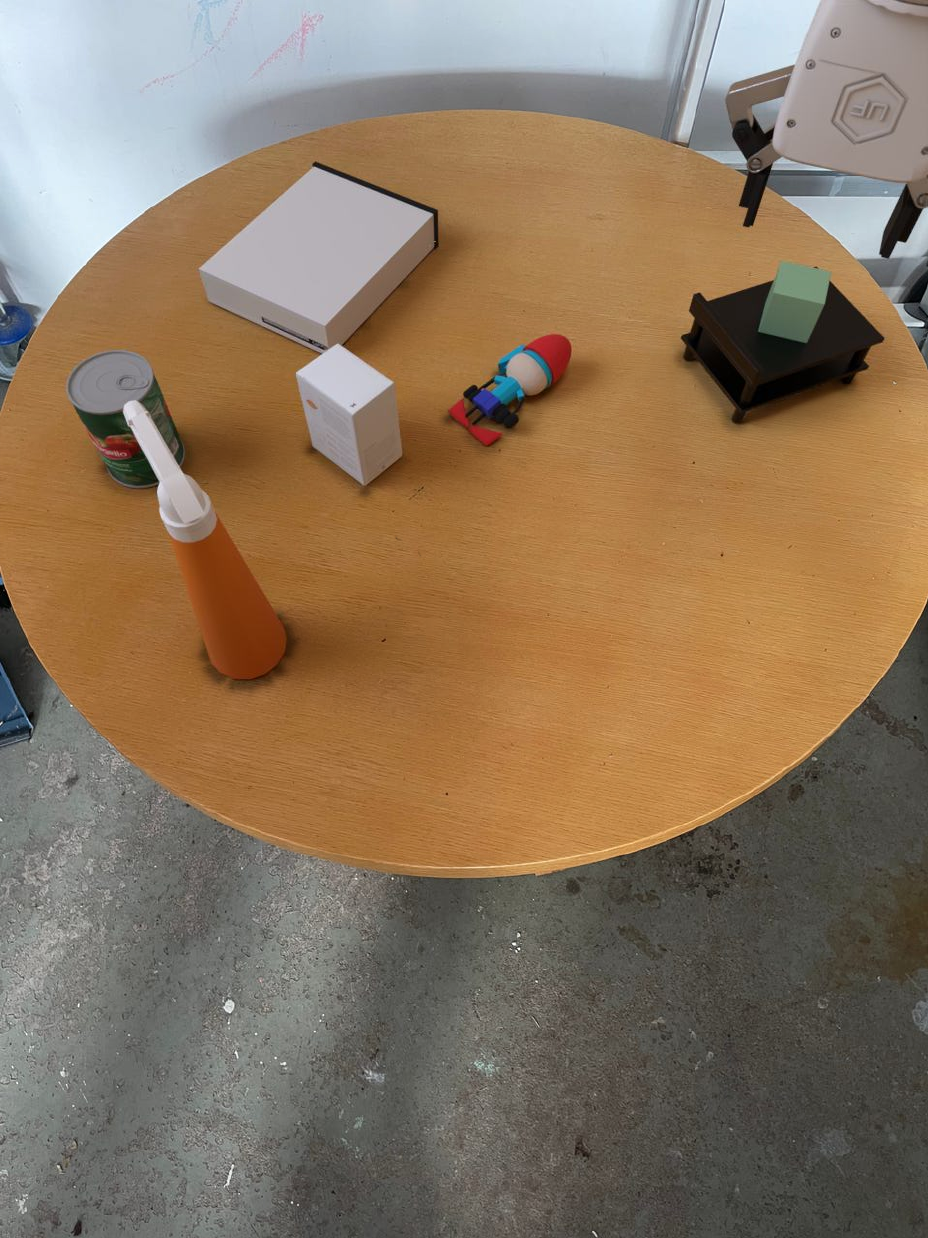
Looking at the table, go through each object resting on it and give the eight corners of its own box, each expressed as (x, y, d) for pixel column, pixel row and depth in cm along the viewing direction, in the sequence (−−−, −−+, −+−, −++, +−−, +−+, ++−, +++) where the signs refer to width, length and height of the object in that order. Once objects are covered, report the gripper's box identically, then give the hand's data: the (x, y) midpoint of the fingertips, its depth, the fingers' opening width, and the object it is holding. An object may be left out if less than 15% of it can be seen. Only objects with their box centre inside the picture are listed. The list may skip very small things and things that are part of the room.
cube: (813, 311, 91) (831, 271, 86) (806, 343, 88) (824, 303, 84) (766, 300, 91) (781, 259, 87) (757, 331, 89) (773, 292, 85)
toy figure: (493, 460, 91) (592, 372, 94) (486, 430, 86) (590, 339, 89) (445, 423, 94) (543, 339, 97) (436, 393, 90) (538, 306, 93)
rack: (795, 314, 100) (821, 253, 93) (859, 384, 94) (891, 325, 87) (675, 353, 97) (693, 293, 89) (734, 429, 91) (757, 371, 84)
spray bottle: (248, 570, 82) (167, 362, 59) (301, 656, 78) (235, 467, 55) (179, 605, 80) (67, 404, 57) (228, 695, 76) (129, 515, 53)
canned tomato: (98, 487, 87) (54, 410, 77) (117, 427, 91) (77, 347, 81) (177, 490, 87) (142, 413, 77) (192, 430, 91) (161, 350, 81)
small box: (403, 457, 89) (397, 382, 80) (364, 488, 87) (353, 415, 78) (350, 416, 92) (338, 340, 83) (310, 446, 90) (293, 371, 81)
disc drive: (439, 245, 105) (438, 208, 101) (332, 359, 96) (326, 324, 91) (321, 198, 110) (315, 160, 105) (207, 302, 100) (196, 266, 96)
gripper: (757, -42, 47) (687, 235, 62) (1095, 15, 44) (936, 292, 59) (781, -101, 51) (709, 175, 65) (1096, -52, 48) (946, 226, 62)
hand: (817, 230), depth 62 cm, fingers open, 9 cm apart
